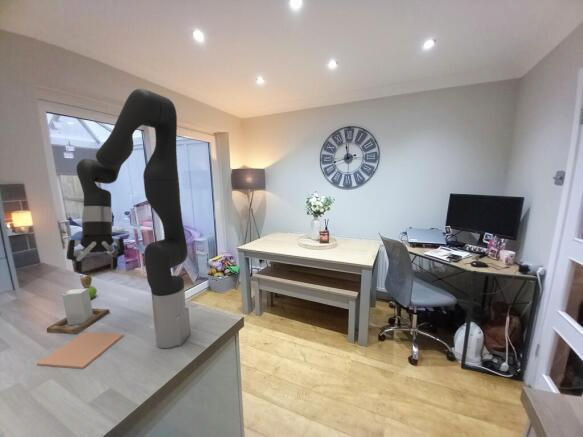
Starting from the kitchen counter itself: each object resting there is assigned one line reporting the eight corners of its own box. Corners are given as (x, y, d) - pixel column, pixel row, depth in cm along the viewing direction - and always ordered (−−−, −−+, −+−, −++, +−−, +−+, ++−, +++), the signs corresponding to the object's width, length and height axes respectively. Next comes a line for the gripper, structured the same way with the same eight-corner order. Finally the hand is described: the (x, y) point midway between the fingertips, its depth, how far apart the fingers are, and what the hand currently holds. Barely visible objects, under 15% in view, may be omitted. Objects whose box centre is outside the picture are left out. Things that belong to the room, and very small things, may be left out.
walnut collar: (109, 312, 92) (109, 309, 92) (76, 334, 79) (76, 329, 79) (83, 311, 93) (83, 308, 93) (47, 332, 80) (46, 328, 80)
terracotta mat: (123, 336, 78) (123, 334, 78) (83, 368, 64) (83, 366, 64) (85, 333, 79) (84, 331, 79) (37, 365, 66) (37, 363, 66)
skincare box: (94, 317, 89) (90, 287, 87) (86, 324, 84) (81, 292, 83) (75, 319, 88) (70, 288, 86) (66, 326, 83) (61, 294, 81)
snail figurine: (76, 303, 99) (73, 276, 97) (85, 296, 105) (82, 270, 103) (92, 301, 101) (88, 275, 99) (99, 294, 107) (96, 269, 105)
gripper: (70, 219, 69) (69, 275, 68) (127, 220, 80) (126, 268, 79) (65, 221, 74) (64, 274, 73) (119, 222, 85) (119, 267, 84)
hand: (97, 271), depth 76 cm, fingers open, 8 cm apart
